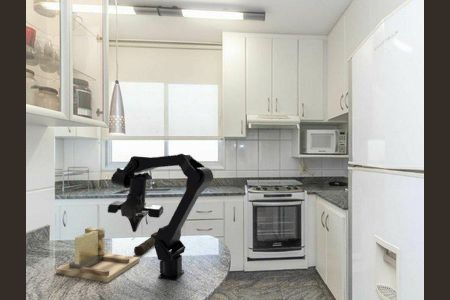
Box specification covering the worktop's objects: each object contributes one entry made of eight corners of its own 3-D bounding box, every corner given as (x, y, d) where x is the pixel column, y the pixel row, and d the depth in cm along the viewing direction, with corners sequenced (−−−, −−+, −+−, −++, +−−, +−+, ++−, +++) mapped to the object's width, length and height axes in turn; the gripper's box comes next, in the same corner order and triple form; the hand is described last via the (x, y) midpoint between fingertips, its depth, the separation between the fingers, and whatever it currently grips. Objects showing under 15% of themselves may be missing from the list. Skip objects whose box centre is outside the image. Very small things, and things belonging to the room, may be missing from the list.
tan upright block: (110, 256, 93) (110, 229, 94) (84, 269, 82) (85, 238, 83) (95, 254, 95) (96, 227, 96) (69, 267, 84) (69, 236, 85)
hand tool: (142, 256, 98) (142, 244, 98) (133, 255, 98) (133, 244, 99) (164, 240, 116) (164, 231, 116) (156, 240, 117) (156, 230, 117)
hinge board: (139, 261, 92) (139, 229, 93) (108, 282, 77) (108, 244, 77) (93, 255, 99) (94, 225, 99) (56, 273, 83) (56, 237, 84)
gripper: (100, 192, 80) (97, 238, 81) (156, 198, 80) (152, 244, 81) (116, 185, 91) (113, 225, 92) (165, 190, 91) (162, 231, 92)
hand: (134, 231), depth 89 cm, fingers closed
